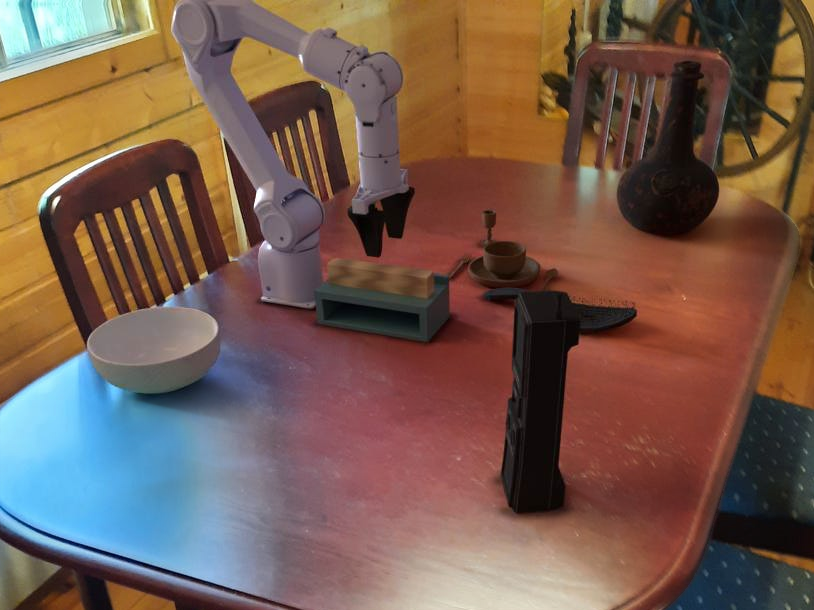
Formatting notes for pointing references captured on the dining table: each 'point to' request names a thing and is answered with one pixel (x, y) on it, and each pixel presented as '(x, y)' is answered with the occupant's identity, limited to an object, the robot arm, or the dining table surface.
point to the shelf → (384, 310)
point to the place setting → (503, 262)
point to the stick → (381, 277)
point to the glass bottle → (671, 168)
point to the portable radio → (537, 400)
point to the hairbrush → (580, 311)
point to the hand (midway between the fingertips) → (384, 246)
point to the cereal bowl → (155, 349)
